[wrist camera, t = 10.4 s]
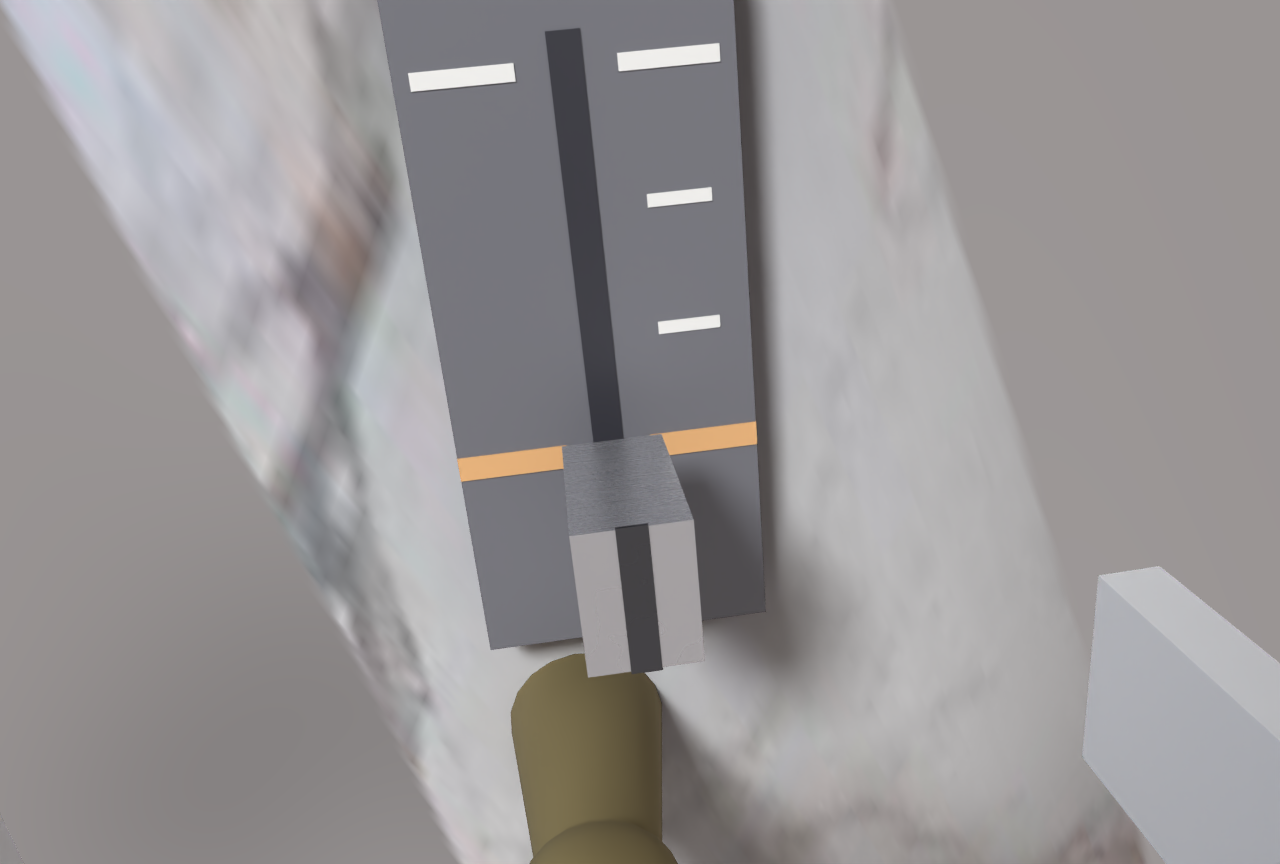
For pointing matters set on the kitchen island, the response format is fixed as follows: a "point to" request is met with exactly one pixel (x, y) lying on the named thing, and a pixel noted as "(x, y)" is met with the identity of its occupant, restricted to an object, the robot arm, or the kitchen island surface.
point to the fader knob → (632, 557)
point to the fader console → (583, 273)
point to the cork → (590, 765)
